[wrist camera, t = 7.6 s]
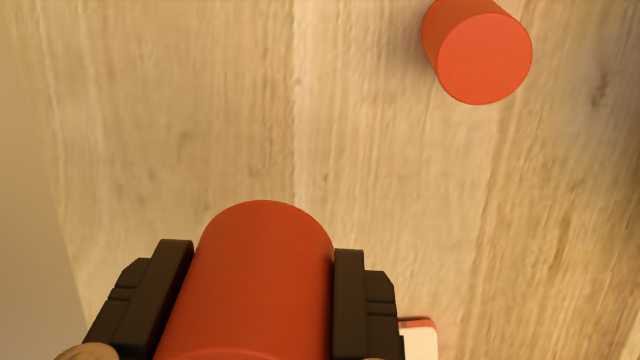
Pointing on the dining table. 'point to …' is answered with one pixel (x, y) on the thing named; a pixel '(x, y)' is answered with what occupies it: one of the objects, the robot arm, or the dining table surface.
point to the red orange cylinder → (255, 289)
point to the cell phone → (418, 340)
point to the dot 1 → (476, 49)
